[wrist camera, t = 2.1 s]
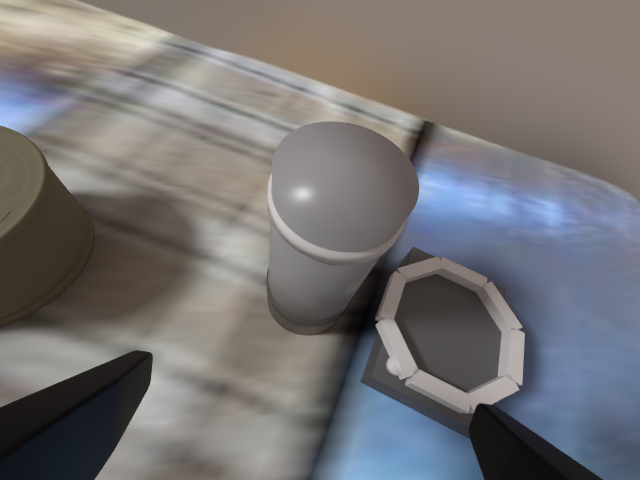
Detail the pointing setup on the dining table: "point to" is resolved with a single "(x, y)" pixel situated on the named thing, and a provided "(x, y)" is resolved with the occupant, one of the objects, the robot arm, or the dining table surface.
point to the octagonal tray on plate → (444, 341)
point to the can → (36, 230)
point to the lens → (331, 218)
